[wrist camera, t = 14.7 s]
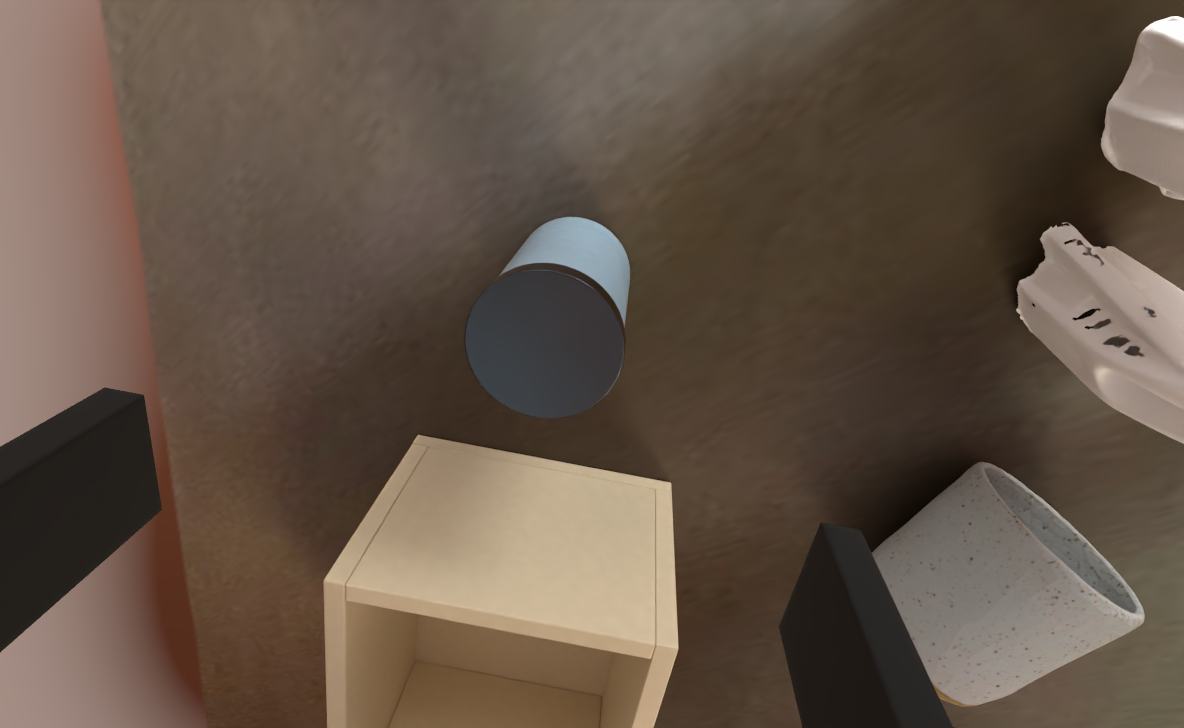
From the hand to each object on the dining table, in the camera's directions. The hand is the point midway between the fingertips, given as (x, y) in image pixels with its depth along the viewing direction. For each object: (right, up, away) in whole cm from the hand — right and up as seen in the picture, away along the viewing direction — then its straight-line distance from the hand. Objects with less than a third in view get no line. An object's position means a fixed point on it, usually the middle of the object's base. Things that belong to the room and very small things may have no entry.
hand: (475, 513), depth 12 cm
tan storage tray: (-1, -9, +22) cm, 23 cm away
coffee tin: (+2, +7, +14) cm, 16 cm away
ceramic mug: (+21, -5, +18) cm, 28 cm away
